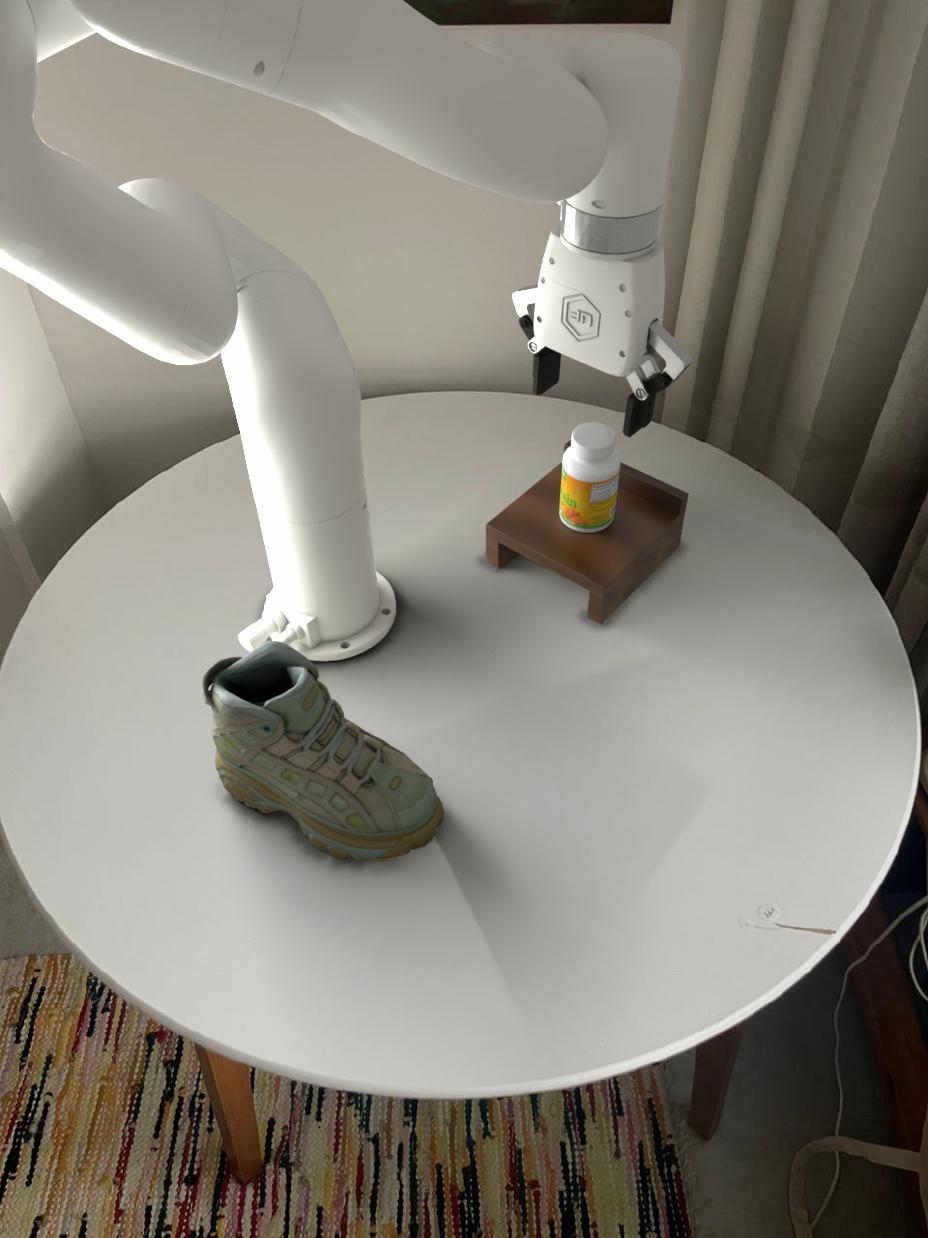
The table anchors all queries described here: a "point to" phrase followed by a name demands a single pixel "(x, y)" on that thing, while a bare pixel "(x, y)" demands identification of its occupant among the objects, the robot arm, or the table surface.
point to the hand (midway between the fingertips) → (589, 408)
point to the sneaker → (314, 759)
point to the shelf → (593, 536)
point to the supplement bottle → (589, 478)
